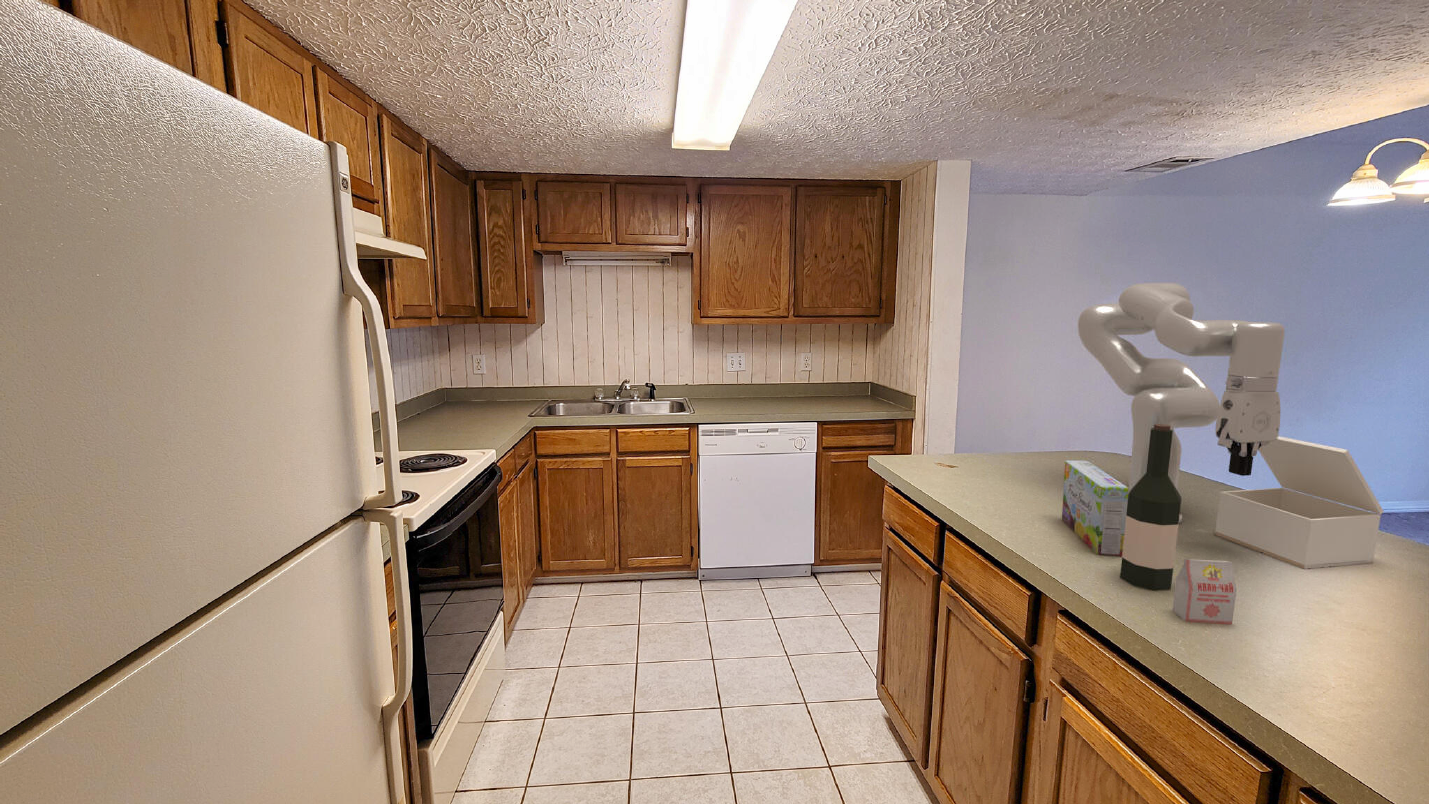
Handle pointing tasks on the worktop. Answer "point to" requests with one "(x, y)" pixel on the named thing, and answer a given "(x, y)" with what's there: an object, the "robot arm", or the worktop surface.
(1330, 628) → the worktop surface
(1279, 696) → the worktop surface
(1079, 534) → the snack box
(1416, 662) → the worktop surface
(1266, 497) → the carton
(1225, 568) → the white and red packet
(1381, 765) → the worktop surface
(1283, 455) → the carton lid
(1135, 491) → the wine bottle
